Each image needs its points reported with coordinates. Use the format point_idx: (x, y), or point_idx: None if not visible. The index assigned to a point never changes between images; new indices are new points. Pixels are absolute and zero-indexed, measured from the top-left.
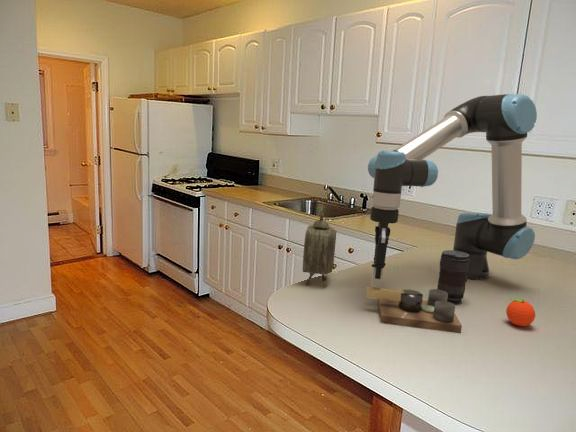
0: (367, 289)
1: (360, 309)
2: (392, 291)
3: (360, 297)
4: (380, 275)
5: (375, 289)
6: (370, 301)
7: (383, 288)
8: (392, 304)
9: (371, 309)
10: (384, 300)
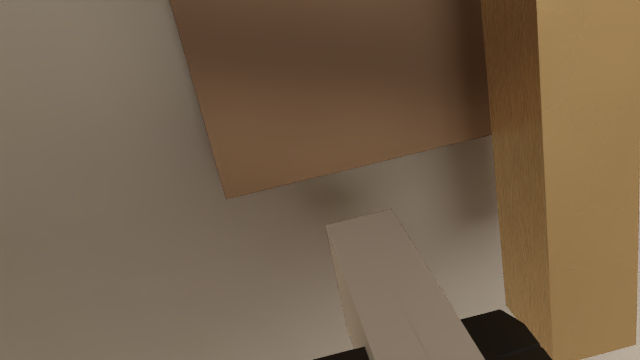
0: (632, 336)
1: (487, 256)
2: (627, 55)
3: (211, 324)
4: (544, 350)
5: (627, 264)
6: (260, 230)
7: (550, 187)
8: (438, 12)
9: (449, 181)
10: (358, 112)
